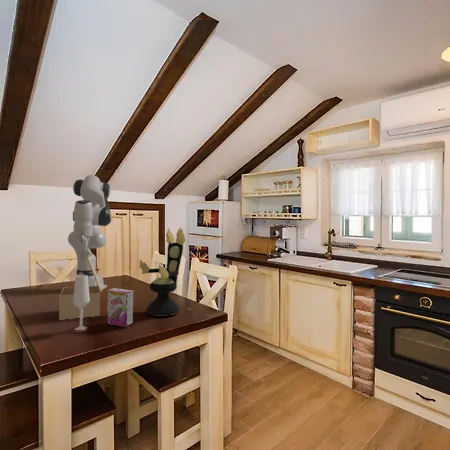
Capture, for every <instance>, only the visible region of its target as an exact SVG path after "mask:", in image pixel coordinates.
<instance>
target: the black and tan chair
mask: <svg viewBox="0 0 450 450" xmlns="http://www.w3.org/2000/svg"><path fill="white" fill-rule="evenodd" d="M170 229H171V228H167V230H166V231H167V232H166V241H165V242H167V244H168V245H167V256H166V257H167V259H166V267H164V266H162V265H161V264H158V268H150V267H149V266H148V264H147V263H146V262H145V261H143V260H141V259H139V269H141V274H144V275H145V274H154V273H156V274H157V273H158V274H160V277H158V278H156V279H154V280H153V281H151V283H150V284H149V289H150V290H151V291H152V292H153V293H156V295H157V296H156V297H155V299H154V300H152V301H151V302H150V303H149V305H147V307H146V313H147V314H148V315H149V314H150V315H149V316H151V315H170V314H174V313H177V312H178V313H179V312H180V308H179V306H178V304H177V303H176V302H175V301H174V300H173V299H172V298H171V297H170V294H169V293H172V292H174V291H176V289H177V287H178V284H177V283H178V282H177V281H178V277H179V276H178V275H179V269H180V266H181V260H182V256H183V251H184V243H185V242H186V237H185V234H184V230H183V228H182V227H181V226H179V229H178V230H177V232H176V237H174V235H173V234H172V232H171V230H170ZM178 313H177V314H178Z"/></svg>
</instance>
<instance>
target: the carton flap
mask: <svg viewBox="0 0 450 450" xmlns="http://www.w3.org/2000/svg"><path fill="white" fill-rule="evenodd" d="M87 260H88V263H89V265H90V268H91V271H92V273H93V276H94V278H95V281H96V283H97V286H98V288H99V291H100V294H101V293H102V290H101V283H100V281H99V278H98V276H97V273H98V272H97V273H96V270H95V268H94V265H93V263H92V260H91V258H90V255H88V257H87Z"/></svg>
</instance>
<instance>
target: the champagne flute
mask: <svg viewBox="0 0 450 450" xmlns="http://www.w3.org/2000/svg"><path fill="white" fill-rule="evenodd" d="M75 278H76V279H75ZM75 278H74V279H75V280H74V287H75V288H74V297H73V303H74V305H75V306H77V307H78V308H80V319H79V326H77V327H76V328H74V329H75V330H85V329H86V328H88V327H86V326H85V325H83V323H84V322H83V319H84V318H83V308H84V307H85V306H86V305H87V304H88V303H89V301H90V297H89V286H88V276H87V275H78V276H77V275H75Z"/></svg>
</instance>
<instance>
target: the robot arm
mask: <svg viewBox="0 0 450 450" xmlns="http://www.w3.org/2000/svg"><path fill="white" fill-rule="evenodd" d="M72 190H73V193H74V194H75V196H77V197H81V198H82V199H80V200H79V199H78V200H76V201H75V203H74V208H73V211H72V220H73V222H74V224H73V231H72V232H70V233H69V234H68V236H67V237H68V238H67V242H68V244H69V245H70V246H71V247H72V249H74V252H75V255H76V259H77V262H76V263H77V266H76V267H77V269H76V272H75V273H76V276H78V275H87V276H88V286H97V283H96V281H95V278H94V276H93V273H92V271H91V268H90V265H89V263H88V260H87V257H88V255H90V258H91V260H92V263H93V265H94V268H95V270H96V273H97V276H98V278H99V281H100V283H101V291H103V290H104V289H106V288H107V287H108V285H107V284H104V278H103V277H102V276H101V275H99V274H98V272H100V270H101V269H100V268H99V267H97V257H96V255H95V254H93V253H92V251H91V249H100V248H103V247H105V245H106V242H107V237H106V234H105V233H103V231H102V229H101V227H107V226H108V225H110V224H111V222H112V212H111V209H110V206H109V205H110V204H109V200H108V198H109V197H110V195H111V193H112V190H111V185H110V184H109V183H107V182H103V181H102V182H101V180H100V178H99V177H98V176H97V175H93V174H90V175H87V176H86V177H84V179H77V180H75V181H74V182H73V186H72ZM100 226H101V227H100ZM74 279H76V277H75V278H74Z"/></svg>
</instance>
